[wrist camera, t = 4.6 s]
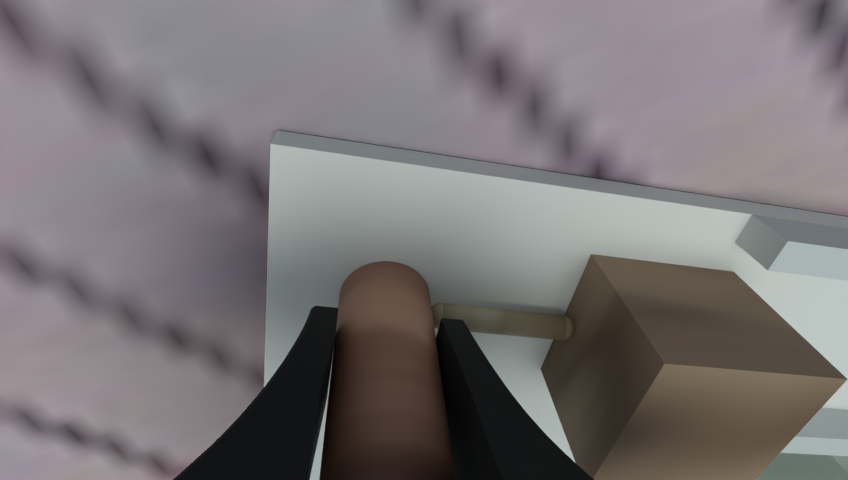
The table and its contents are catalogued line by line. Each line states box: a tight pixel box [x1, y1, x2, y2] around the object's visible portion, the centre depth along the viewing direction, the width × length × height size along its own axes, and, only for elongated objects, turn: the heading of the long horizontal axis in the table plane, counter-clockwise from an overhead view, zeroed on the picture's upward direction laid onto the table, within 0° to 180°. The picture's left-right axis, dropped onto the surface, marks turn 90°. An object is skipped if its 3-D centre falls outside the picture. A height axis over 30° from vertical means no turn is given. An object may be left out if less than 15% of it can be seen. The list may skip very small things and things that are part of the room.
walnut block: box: [319, 254, 847, 480], centre depth 13 cm, size 5×12×6 cm, turn 79°
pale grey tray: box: [264, 130, 848, 480], centre depth 18 cm, size 17×26×2 cm, turn 79°
